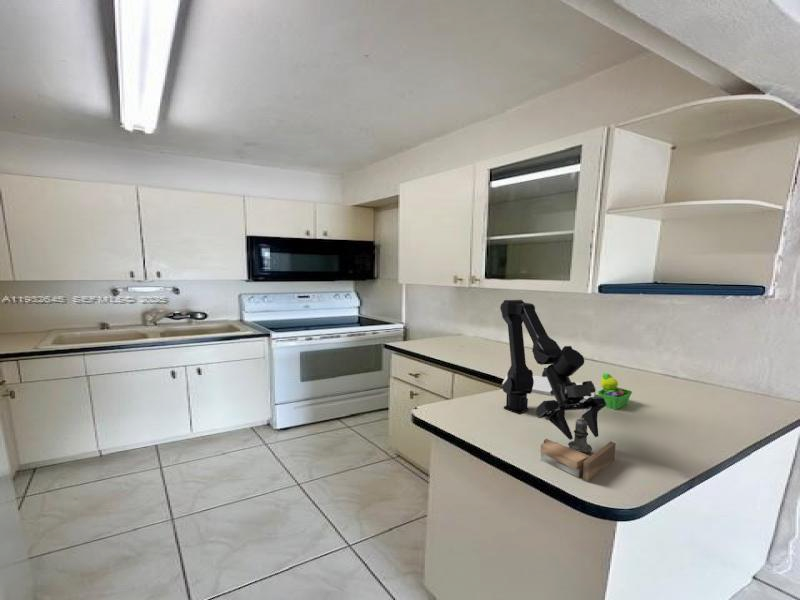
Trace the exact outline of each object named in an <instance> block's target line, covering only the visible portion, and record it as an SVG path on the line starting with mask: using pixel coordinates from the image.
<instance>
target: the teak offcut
mask: <svg viewBox="0 0 800 600" xmlns="http://www.w3.org/2000/svg"><path fill="white" fill-rule="evenodd" d="M552 441H553V440H551V441H548V442H546V443H544V442H543V443H542V444H540V451H539V452H540V454H541V453H543V454H545V455H547V456H549V457H551V458H553V459H555V460H557V461H559V462H561V463H563V464H566V465H568V466H570V467H572V468H574V469H576V470H578V469H579V468H581V467H583V464H584V461H585V460H586V457H585V456H583V455H580V454H578V453H576V452H574V451H572V450H570V449H567V448H565V447H563V446H564V445H563V446H561V445H562V444H561V445H559V444H560V443H558V444H556V443H557V442H556V443H554V442H555V441H553V442H552Z"/></svg>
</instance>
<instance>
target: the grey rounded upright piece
mask: <svg viewBox="0 0 800 600" xmlns="http://www.w3.org/2000/svg"><path fill="white" fill-rule="evenodd" d="M573 433H574V438H573V440H572V441H571V440H570V441H569V442H567V445H568V446H567V447H569V448H571V449H574V450H576V451H579V452H581V453H584V454H586V455H589V456H591V452H592V451H593V447H592V446H591V445H590V444H588V442H587V441H588V440H587V439H588V436H589V433H588V425H587V422H586V421H585V420H584V419H583V417H582V416H580V418H578V419H576V421H575V428H574V430H573Z"/></svg>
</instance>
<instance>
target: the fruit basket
mask: <svg viewBox="0 0 800 600" xmlns="http://www.w3.org/2000/svg"><path fill="white" fill-rule="evenodd" d="M600 379H601V383H600V384H601V385H600V386H601V388H602V389H600V390H599V391H597V394H598V397H599V396H600V397H602V398H604V400H605V402H606V404H607V405H606V406H605V407H606V408H609V409H613V410H615V411H616V410H617V409H620V408H621V407H624V406H625V405H628V402H629V400H630V397H631V395H632V394H633V391H631V390H628V389H626V388H622V387H618V385H619V382H618V380H616V379H615V377H613V376H612V375H611V374H610V373H609V372H608V373H607V372H603V373H602V375H601V378H600ZM605 407H604V408H605Z"/></svg>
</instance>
